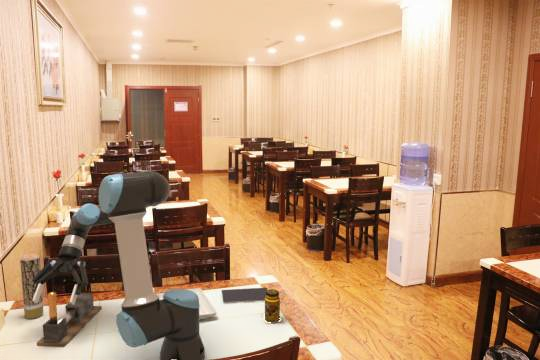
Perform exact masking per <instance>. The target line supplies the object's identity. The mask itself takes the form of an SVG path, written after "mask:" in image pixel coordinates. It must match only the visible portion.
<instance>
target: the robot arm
mask: <svg viewBox="0 0 540 360" xmlns="http://www.w3.org/2000/svg"><path fill="white" fill-rule="evenodd" d="M170 187H171V186H170V183H169V181H168V179H167V178H166V177H165V176H164V175H162V174H160V173H159V172H155V171H150V170H149V171H139V172H138V171H137V172H125V173H115V174H109V175H107V176H105V177H104V178H103V179H102V180H101V182H100V184H99V188H98V205H96V204H93V203H89V202H88V203H85V204H83V205H82V206H81V207H79V209H78V210H77V211H76V212H74V213H73V215H72V216H71V217H72V218H71V219H70V223H69V225H68V228H67V231H66V234H65V237H64V240H63V242H62V244H61V248H60V250H59V253H58V257H57V259H55V260H53V259H52V258H49V259H48V260H47V262H46V264H45V265H44V267H42V269H41V271H40V272H39V273H38V274H37V275H36V276H35V277H34V278H33V280H32V281H33V282H34V283H35V284H36V286H35V289H34V293H35V295H34V297H33V300H32V301H34V302H35V303H38V301H39V299H40V296H41V293H42V294H43V290H44V288H45V286H44V285H45V283H47V282H48V281H50V279H52V278H53V277H54V276H56V275H58V274H59V273H60V274H61V273H63V274H64V273H66V274H70V273H71V274H72V276H73V279H74V280H75V282H76V284H74V287H73V289H72V293H71V296H70V298H69V299H70V300H69V302H70V303H71V304H72V305H74V304H75V301H76V298H77V296H78V295H80V293H82V289H83V288H84V287H85V286H86V287H87V286H88V285H90V284H89V279H88V274H87V270H86V266H87V265H86V264H87V263H86V261H85V260H84V259H82V260H81V255H82V251H83V249H84V246H85V243H86V241H87V237H88V234H89V231H90V230H91V229H92V227H96V226H102V225H109V224H113V223H114V229H115V234H116V235H115V237H116V243H117V250H118V256H119V263H120V269H121V276H122V278H121V279H122V283H123V290H124V299H123V302H122V303H121V305H120V306H121V311H119V312H118V313H117V314H116V317H115V318H116V319H115V321H116V327H117V330H118V332H119V335H120V336H121V339H122V341H123V342H124V343H125V344H126V345H127V346H128V347H130V348H138V347H141V346H146V345H147V344H149V343H152V342H155V341H158V340H159V339H163V341H162V344H161V347H160V351H159V360H171V359H177V360H202V359H203V358H204V359H205V353H206V351H205V349H206V348H205V346H204V343H203V339H202V337H201V334H200V319H199V307H200V305H199V298H198V295H197V294H196V293H194V292H193V291H190V290H186V289H184V288H183V289H182V288H172V289H168V290H166V291H164V292H163V293H164V295H163V298H164V299H162V300H159V296H158V295H156V294H157V293H155V292H154V287H153V282H152V274H151V267H150V260H149V255H148V247H147V240H146V239H147V238H146V233H145V228H144V220H143V218H144V217H145V216H146V214H147V208H149V207H157V206H159V205H161V204H162V203H164V202H166V200H168V198H169V196H170V194H171V188H170ZM77 267H79V270H80V273H81V279H80V276H79V274H78V273H77V270H76V269H77ZM204 359H203V360H204Z"/></svg>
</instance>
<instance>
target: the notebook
mask: <svg viewBox="0 0 540 360" xmlns="http://www.w3.org/2000/svg"><path fill="white" fill-rule="evenodd" d="M268 290H269V289H268V288H267V287H252V288H235V289H234V288H233V289H221V294H222V301H223V303H224V304H225V303H227V304H238V303H237V302H244V303H255V302H254V301H262V302H265V298H266V292H267V291H268Z"/></svg>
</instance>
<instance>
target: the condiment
mask: <svg viewBox="0 0 540 360" xmlns="http://www.w3.org/2000/svg"><path fill="white" fill-rule="evenodd" d="M280 303H281V298H280V292H279V291H278V289H277V290H276V289H268V291H267V292H266V298H265V301H264V314H265V320H266V321H267V322H271V323H272V324H276V323H275V322H278V321H279V320H280V319H279V318H280V317H281V316H280V315H281V314H280V313H281V311H280V310H281V309H280V308H281V304H280ZM262 317H263V316H261V318H262ZM283 322H284V320H283V319H282V320H281V321H280V322H279V323H283Z"/></svg>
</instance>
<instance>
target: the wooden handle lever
mask: <svg viewBox="0 0 540 360" xmlns="http://www.w3.org/2000/svg"><path fill="white" fill-rule="evenodd" d="M57 296H58V295H57V292H55V291H50V292H48V293H47V295H46V297H47V299H48V313H49V319H50V324H56V325H57V324H58V323H59V322H60V321H61V320H62V319H63V318H66V322H67V323H68V322H69V321H70V320H71V319H72V318H73V317H74V316H76V315H77V308H71V309H70V310H69V311H68V312H66V311H65V313H64V314H63V315H62V316H60V318H58V312H57V309H58V308H57Z"/></svg>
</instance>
